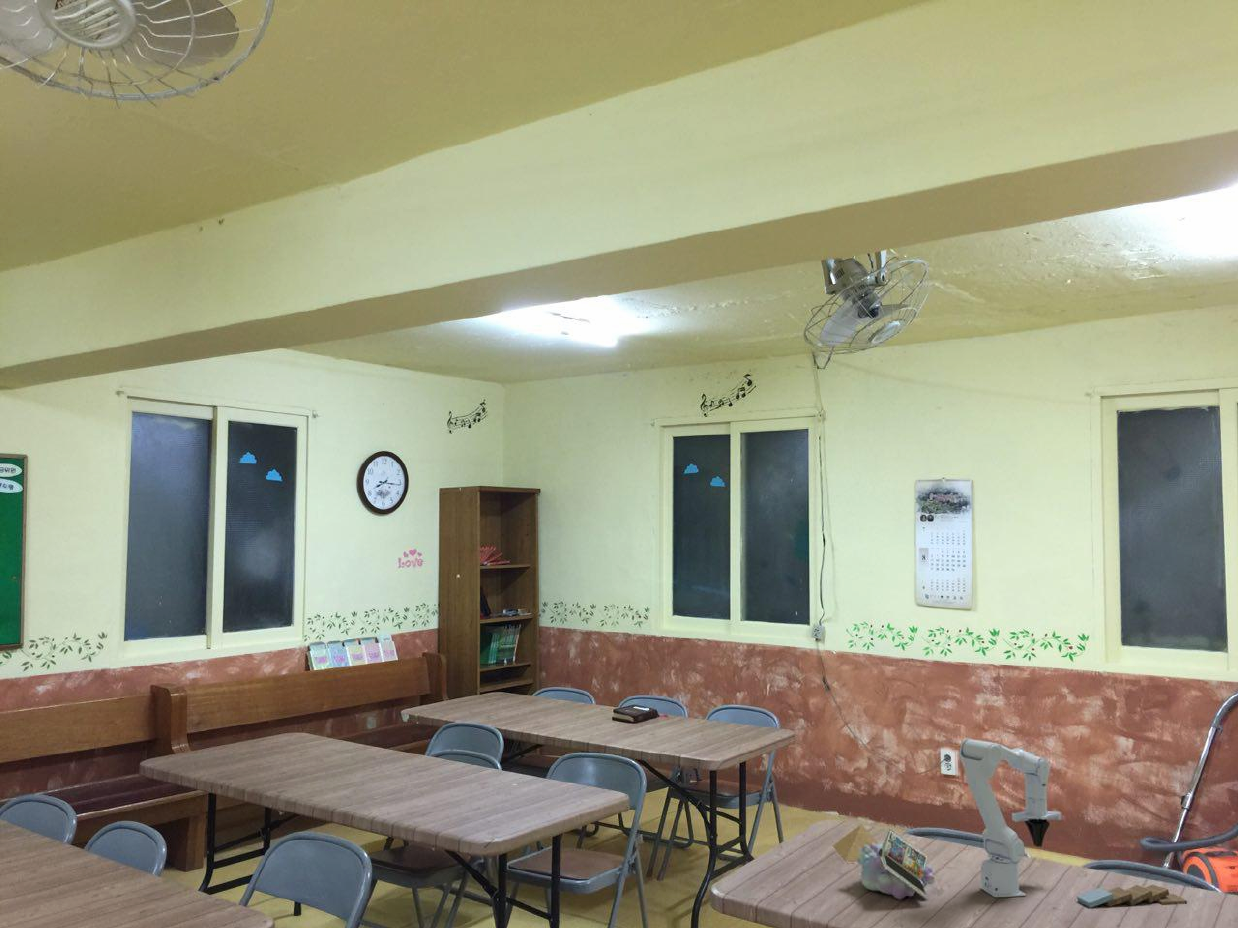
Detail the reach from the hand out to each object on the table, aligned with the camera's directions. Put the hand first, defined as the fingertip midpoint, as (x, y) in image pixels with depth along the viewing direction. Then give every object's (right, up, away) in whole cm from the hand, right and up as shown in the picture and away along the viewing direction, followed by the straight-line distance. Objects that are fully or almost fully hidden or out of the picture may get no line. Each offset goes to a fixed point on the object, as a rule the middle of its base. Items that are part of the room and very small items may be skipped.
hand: (1037, 845), depth 279 cm
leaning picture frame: (-43, -10, -9) cm, 45 cm away
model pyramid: (-45, -13, +23) cm, 53 cm away
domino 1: (+5, -8, -18) cm, 20 cm away
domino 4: (+22, -9, -15) cm, 28 cm away
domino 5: (+26, -9, -15) cm, 31 cm away
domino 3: (+17, -9, -16) cm, 25 cm away
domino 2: (+10, -8, -17) cm, 22 cm away
